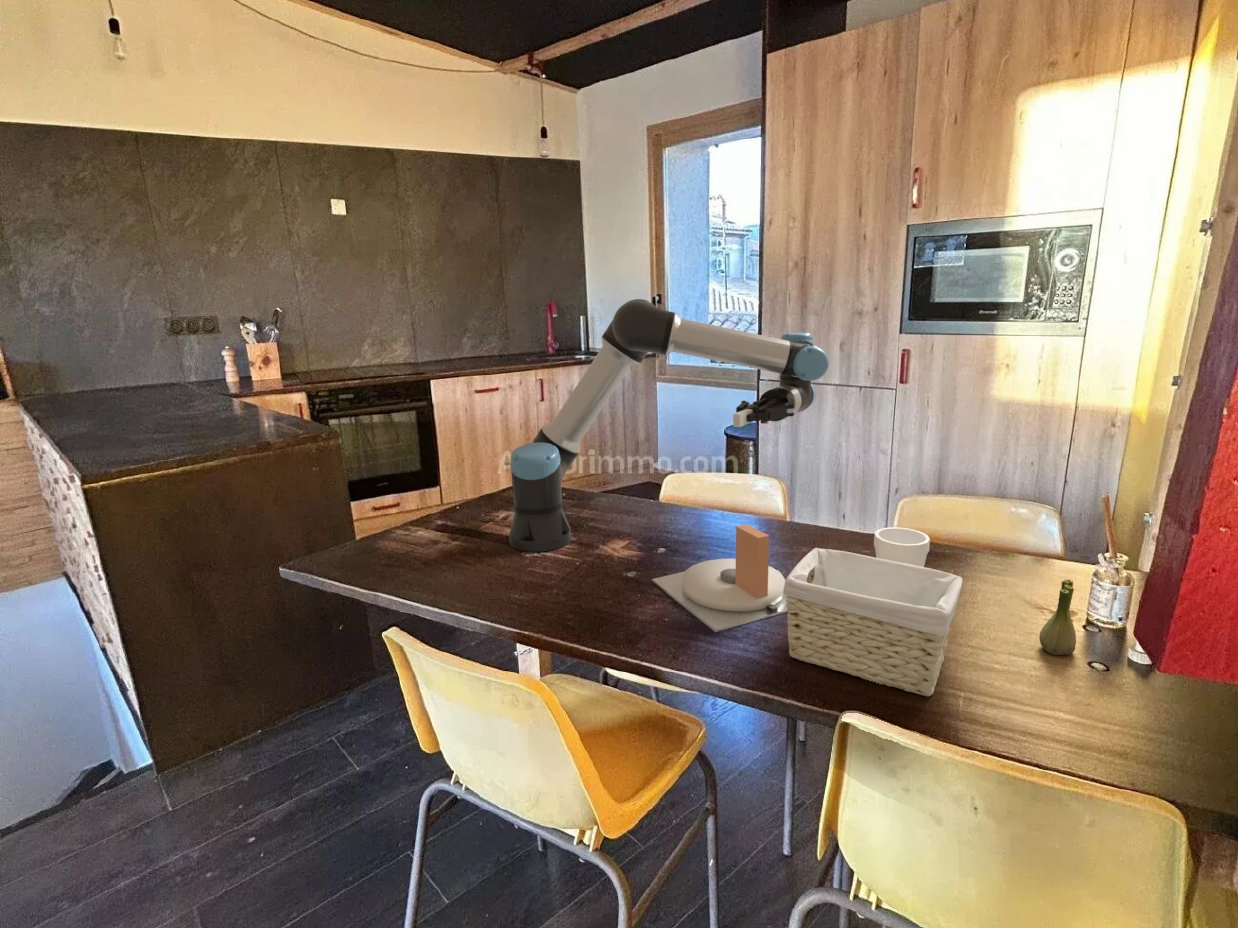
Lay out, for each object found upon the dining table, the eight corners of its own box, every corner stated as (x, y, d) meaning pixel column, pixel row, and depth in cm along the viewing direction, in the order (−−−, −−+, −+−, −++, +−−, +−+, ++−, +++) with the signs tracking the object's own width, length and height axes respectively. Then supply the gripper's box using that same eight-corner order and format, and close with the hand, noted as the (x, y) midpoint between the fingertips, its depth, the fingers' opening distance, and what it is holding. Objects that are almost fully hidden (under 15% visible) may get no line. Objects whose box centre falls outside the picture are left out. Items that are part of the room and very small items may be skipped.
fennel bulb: (1058, 662, 103) (1069, 592, 100) (1028, 647, 107) (1038, 580, 104) (1082, 653, 105) (1093, 584, 102) (1052, 639, 110) (1062, 573, 106)
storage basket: (956, 656, 106) (965, 571, 102) (940, 709, 93) (950, 614, 89) (809, 620, 119) (813, 544, 115) (777, 662, 106) (780, 577, 102)
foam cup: (924, 593, 127) (930, 530, 124) (923, 614, 119) (929, 548, 116) (872, 586, 131) (876, 525, 128) (868, 606, 123) (872, 541, 120)
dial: (664, 579, 135) (663, 515, 132) (745, 560, 143) (746, 499, 140) (718, 620, 118) (718, 547, 114) (806, 596, 126) (809, 528, 122)
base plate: (651, 581, 137) (651, 575, 136) (747, 559, 146) (747, 553, 146) (715, 632, 115) (715, 625, 115) (821, 602, 125) (822, 595, 125)
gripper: (806, 421, 152) (765, 441, 133) (753, 416, 159) (708, 435, 140) (807, 389, 150) (766, 404, 131) (754, 386, 157) (708, 400, 139)
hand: (736, 420), depth 136 cm, fingers closed
